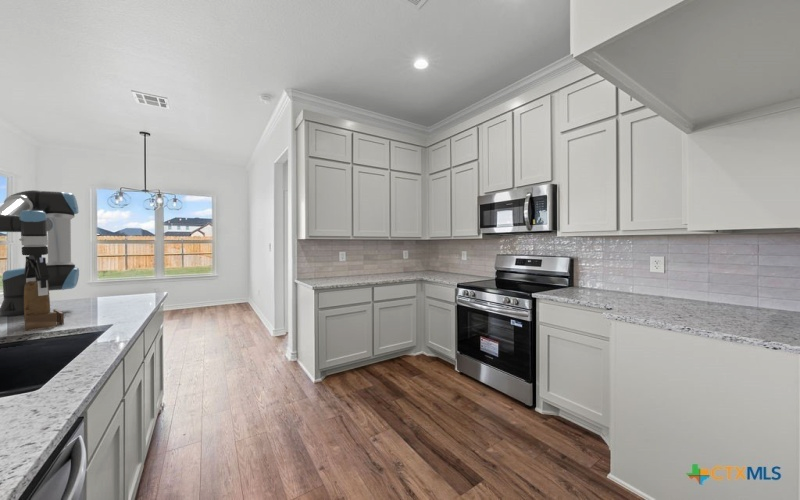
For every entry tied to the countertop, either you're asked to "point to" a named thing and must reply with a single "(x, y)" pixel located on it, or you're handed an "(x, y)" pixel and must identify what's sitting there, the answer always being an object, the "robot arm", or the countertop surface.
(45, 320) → the lane backstop
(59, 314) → the lane rail
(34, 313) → the block
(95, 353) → the countertop surface
